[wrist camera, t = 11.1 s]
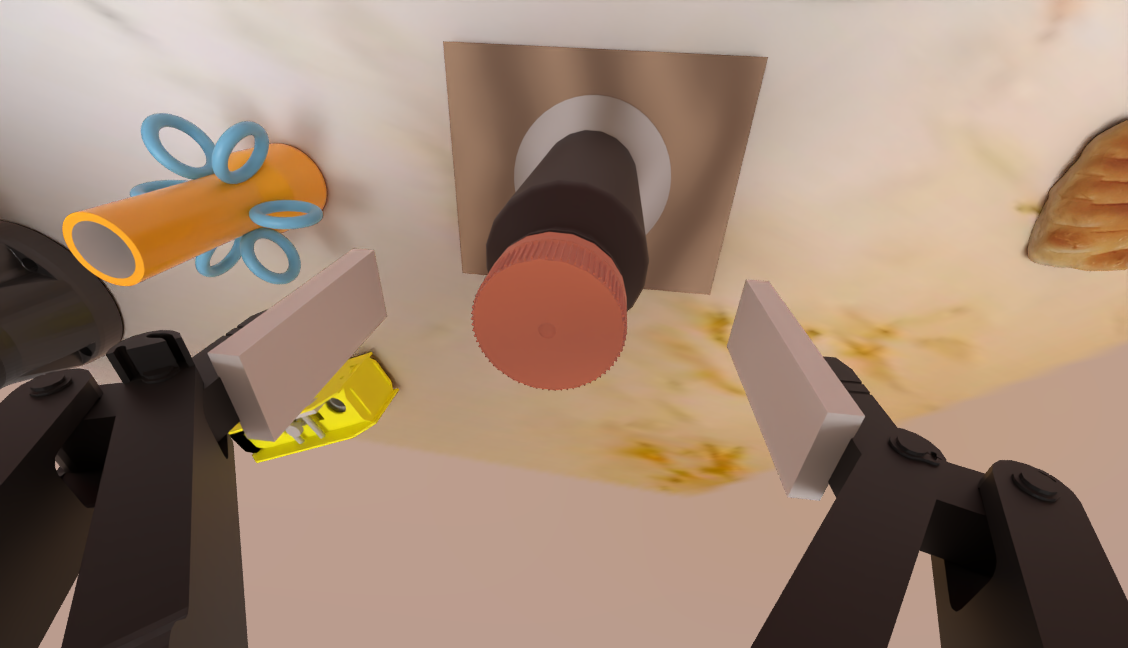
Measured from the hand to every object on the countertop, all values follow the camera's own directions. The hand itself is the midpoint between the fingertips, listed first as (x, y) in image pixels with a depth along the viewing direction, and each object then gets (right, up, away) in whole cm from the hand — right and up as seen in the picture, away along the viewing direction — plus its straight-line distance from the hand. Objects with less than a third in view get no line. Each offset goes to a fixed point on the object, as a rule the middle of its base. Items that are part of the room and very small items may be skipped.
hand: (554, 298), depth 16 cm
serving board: (+2, +10, +17) cm, 19 cm away
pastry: (+36, +8, +14) cm, 39 cm away
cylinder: (-21, +11, +19) cm, 31 cm away
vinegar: (+2, +9, +15) cm, 18 cm away
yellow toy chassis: (-25, -7, +31) cm, 40 cm away
